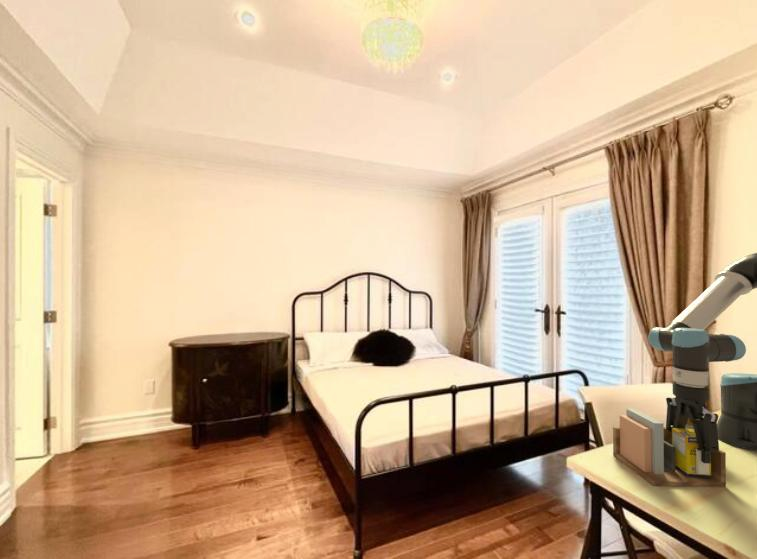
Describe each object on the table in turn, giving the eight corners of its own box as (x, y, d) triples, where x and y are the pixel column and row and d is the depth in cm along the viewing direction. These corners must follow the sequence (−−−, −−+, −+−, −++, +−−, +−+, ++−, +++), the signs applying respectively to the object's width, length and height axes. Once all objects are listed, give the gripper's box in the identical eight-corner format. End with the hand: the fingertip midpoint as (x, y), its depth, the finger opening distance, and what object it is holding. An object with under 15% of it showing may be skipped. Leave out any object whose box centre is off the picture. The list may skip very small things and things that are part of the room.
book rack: (674, 456, 106) (674, 427, 106) (725, 486, 90) (725, 452, 90) (613, 455, 107) (613, 426, 107) (653, 485, 91) (653, 452, 91)
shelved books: (634, 454, 105) (634, 408, 105) (663, 474, 94) (663, 423, 94) (619, 453, 105) (619, 408, 105) (647, 473, 94) (647, 423, 94)
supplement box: (711, 478, 92) (711, 438, 92) (687, 476, 92) (686, 436, 92) (694, 466, 97) (694, 428, 98) (671, 465, 98) (671, 427, 98)
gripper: (649, 374, 105) (650, 449, 105) (709, 395, 86) (710, 486, 85) (674, 374, 105) (674, 449, 105) (739, 395, 85) (740, 487, 85)
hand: (690, 466), depth 95 cm, fingers closed on supplement box, 6 cm apart
